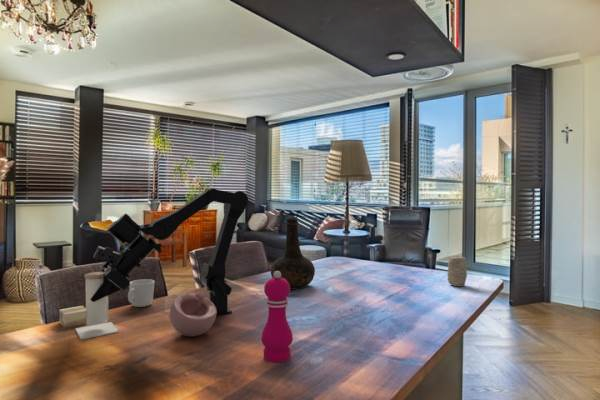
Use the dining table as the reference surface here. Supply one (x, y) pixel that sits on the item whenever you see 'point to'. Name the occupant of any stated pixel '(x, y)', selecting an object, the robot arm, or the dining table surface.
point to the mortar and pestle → (192, 314)
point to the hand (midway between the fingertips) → (91, 298)
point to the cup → (141, 292)
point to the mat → (96, 330)
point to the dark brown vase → (294, 260)
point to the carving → (457, 270)
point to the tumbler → (99, 308)
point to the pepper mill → (277, 320)
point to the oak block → (73, 316)
